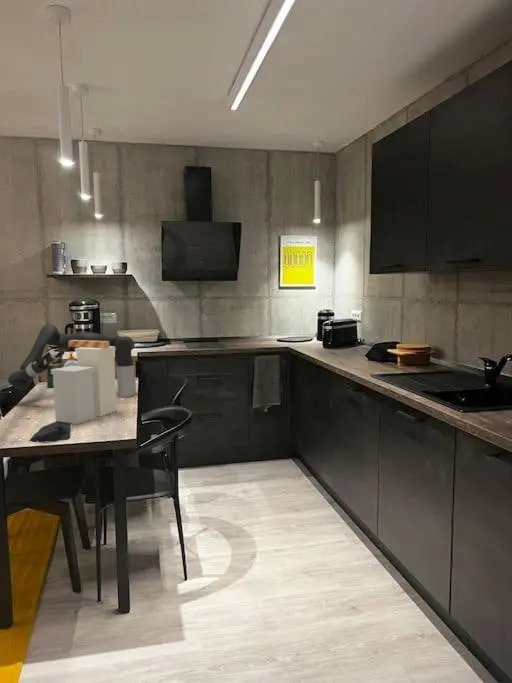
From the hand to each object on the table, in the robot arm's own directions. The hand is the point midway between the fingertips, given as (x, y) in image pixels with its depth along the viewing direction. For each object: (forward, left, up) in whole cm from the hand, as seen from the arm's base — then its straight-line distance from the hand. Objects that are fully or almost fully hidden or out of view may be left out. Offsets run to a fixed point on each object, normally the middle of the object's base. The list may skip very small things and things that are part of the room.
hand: (56, 352), depth 253 cm
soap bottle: (-19, -47, -29) cm, 58 cm away
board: (-11, +18, +4) cm, 21 cm away
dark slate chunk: (+14, +47, -29) cm, 57 cm away
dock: (0, +29, -28) cm, 41 cm away
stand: (-13, +22, -28) cm, 38 cm away
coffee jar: (-13, -64, -29) cm, 71 cm away
